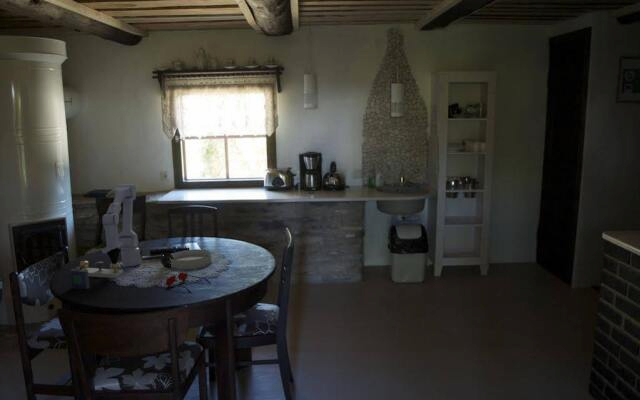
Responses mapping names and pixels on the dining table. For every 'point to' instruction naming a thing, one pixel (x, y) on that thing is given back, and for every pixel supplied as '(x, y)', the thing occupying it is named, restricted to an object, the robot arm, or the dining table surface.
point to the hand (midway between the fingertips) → (114, 263)
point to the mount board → (103, 272)
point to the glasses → (180, 276)
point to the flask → (80, 278)
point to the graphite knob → (99, 264)
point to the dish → (190, 259)
